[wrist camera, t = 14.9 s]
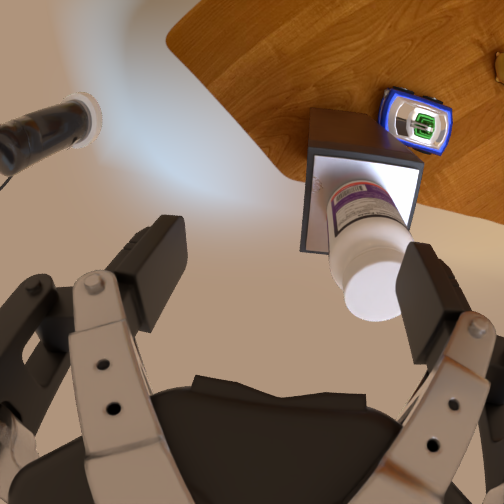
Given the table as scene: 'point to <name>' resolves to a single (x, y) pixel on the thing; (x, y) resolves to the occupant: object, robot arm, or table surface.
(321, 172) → the tall grey box
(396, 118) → the toy car
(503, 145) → the table surface
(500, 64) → the mug
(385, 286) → the pill bottle
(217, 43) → the table surface
